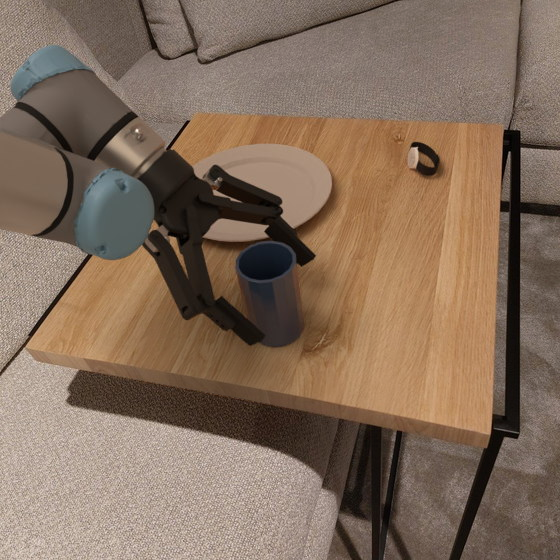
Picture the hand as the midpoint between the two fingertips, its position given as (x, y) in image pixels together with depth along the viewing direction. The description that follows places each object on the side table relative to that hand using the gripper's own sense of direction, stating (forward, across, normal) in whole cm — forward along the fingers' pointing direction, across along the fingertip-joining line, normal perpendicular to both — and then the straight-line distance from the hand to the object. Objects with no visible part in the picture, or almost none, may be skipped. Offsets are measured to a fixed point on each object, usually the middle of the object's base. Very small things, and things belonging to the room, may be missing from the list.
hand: (285, 299), depth 69 cm
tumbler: (+3, 0, +5) cm, 6 cm away
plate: (-8, +23, +16) cm, 29 cm away
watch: (+8, +38, 0) cm, 39 cm away
